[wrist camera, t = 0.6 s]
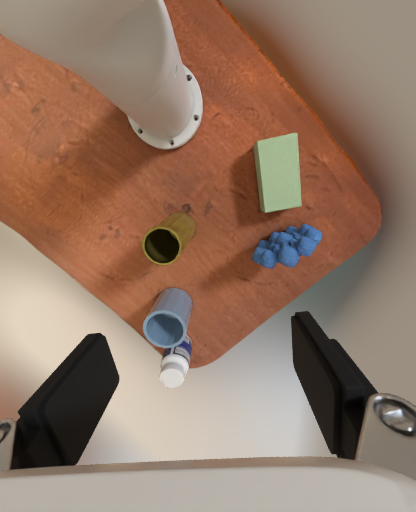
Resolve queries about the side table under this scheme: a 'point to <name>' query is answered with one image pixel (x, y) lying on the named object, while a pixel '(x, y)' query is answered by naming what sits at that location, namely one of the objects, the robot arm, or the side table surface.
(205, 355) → the side table surface
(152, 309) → the cup
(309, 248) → the grapes
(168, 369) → the pill bottle
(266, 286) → the side table surface
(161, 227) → the vase
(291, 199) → the pale sage-green block
